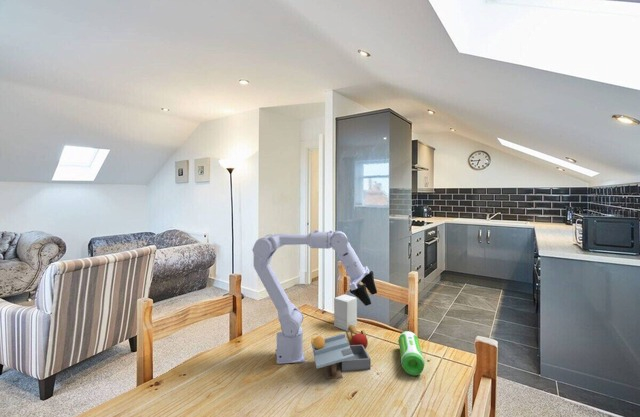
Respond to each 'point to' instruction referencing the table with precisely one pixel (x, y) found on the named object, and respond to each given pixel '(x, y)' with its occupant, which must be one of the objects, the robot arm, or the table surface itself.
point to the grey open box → (357, 360)
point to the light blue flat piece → (333, 351)
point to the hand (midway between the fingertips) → (371, 298)
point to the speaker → (411, 353)
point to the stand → (333, 371)
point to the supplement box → (345, 311)
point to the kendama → (356, 337)
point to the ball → (318, 342)
